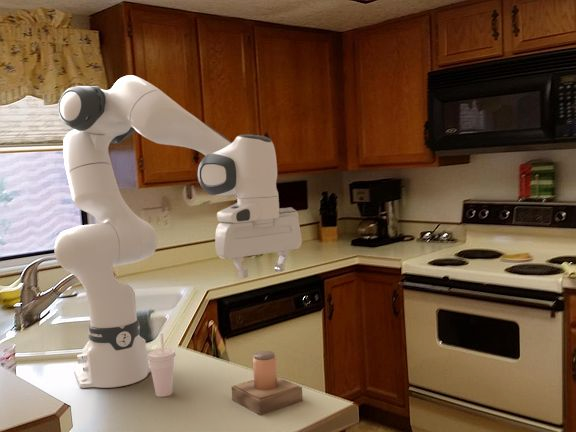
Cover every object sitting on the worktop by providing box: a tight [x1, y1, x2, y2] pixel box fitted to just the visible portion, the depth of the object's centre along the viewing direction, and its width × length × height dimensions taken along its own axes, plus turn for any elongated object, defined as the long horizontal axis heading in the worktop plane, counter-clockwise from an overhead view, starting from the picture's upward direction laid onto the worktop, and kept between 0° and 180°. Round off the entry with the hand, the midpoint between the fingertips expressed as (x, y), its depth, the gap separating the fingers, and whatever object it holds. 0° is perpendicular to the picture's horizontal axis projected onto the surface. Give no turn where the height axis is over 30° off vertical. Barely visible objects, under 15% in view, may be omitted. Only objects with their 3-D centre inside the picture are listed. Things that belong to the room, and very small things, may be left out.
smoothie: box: [147, 333, 177, 398], centre depth 139 cm, size 6×6×14 cm
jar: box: [252, 350, 278, 390], centre depth 132 cm, size 5×5×7 cm
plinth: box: [231, 376, 303, 416], centre depth 132 cm, size 11×11×3 cm
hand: (261, 274), depth 131 cm, fingers open, 8 cm apart
